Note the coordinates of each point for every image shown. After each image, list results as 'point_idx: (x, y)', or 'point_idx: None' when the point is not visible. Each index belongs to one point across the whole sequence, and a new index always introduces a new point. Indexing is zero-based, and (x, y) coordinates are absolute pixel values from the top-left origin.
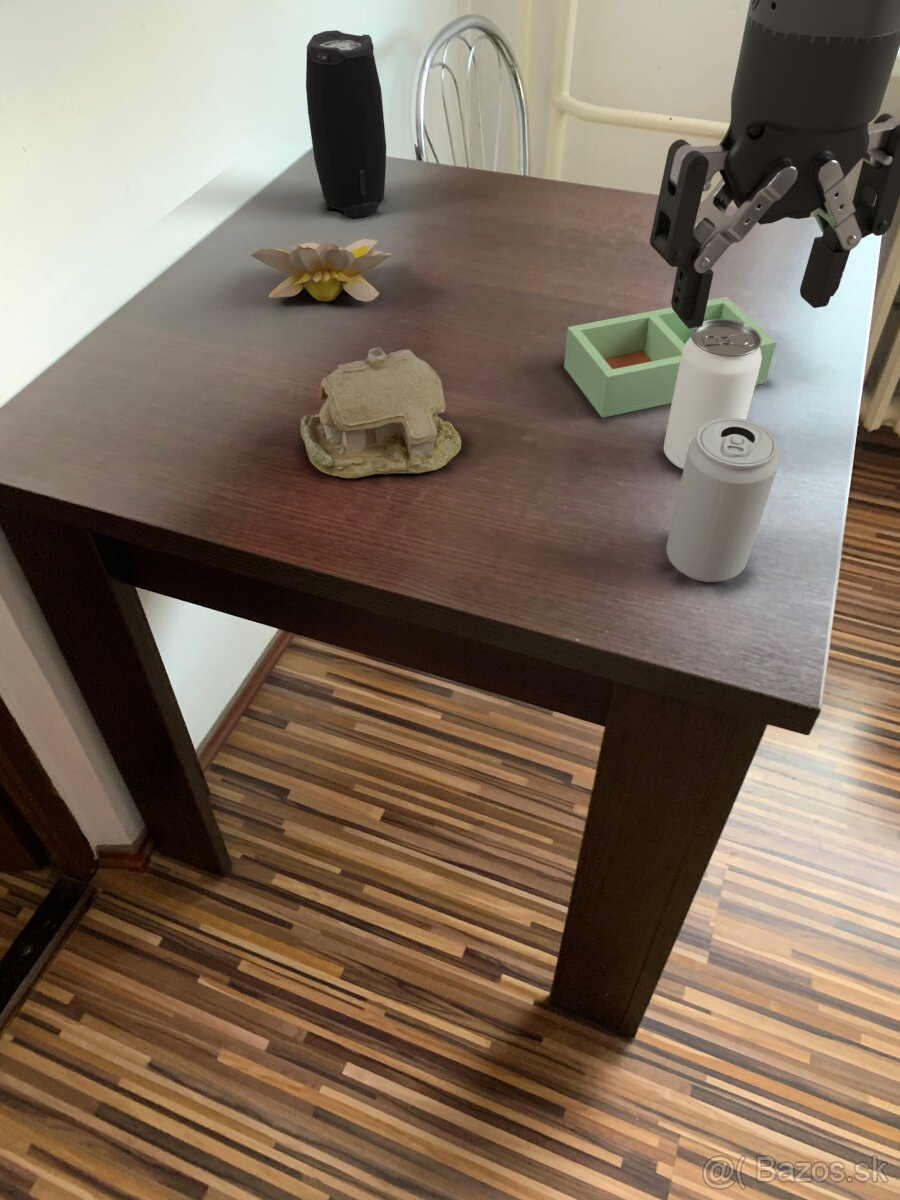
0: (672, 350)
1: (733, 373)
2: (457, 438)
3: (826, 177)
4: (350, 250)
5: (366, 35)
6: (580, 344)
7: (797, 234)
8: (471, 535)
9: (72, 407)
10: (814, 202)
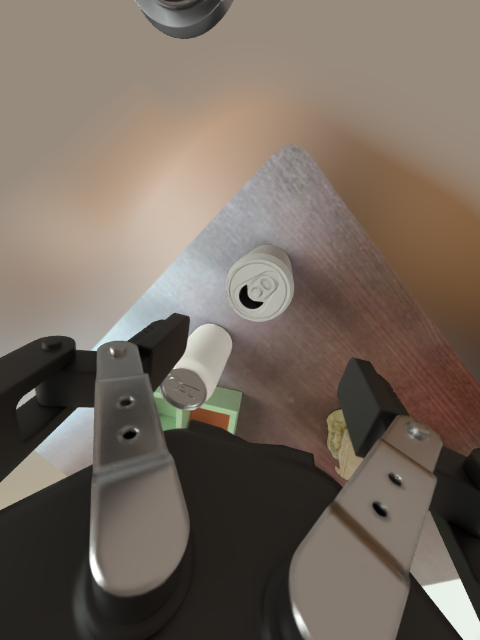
0: (184, 410)
1: (195, 361)
2: (332, 419)
3: (159, 511)
4: None
5: None
6: None
7: (54, 449)
8: (374, 354)
9: None
10: (179, 445)
